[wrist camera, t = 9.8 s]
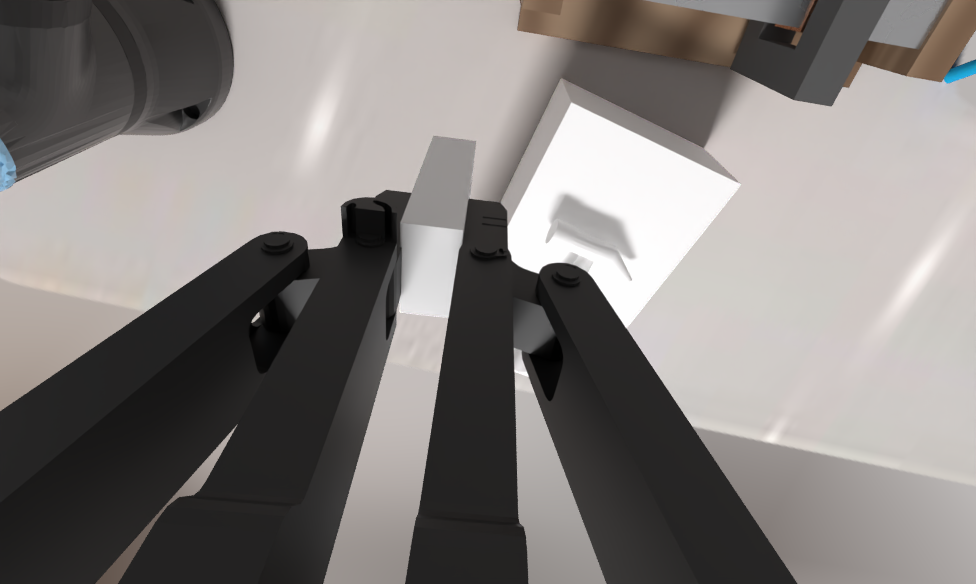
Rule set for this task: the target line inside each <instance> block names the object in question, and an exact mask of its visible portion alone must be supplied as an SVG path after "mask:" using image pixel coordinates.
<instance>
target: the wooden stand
mask: <svg viewBox="0 0 976 584" xmlns="http://www.w3.org/2000/svg"><path fill="white" fill-rule="evenodd" d="M520 3H521V10H520V16H519V22H518V28H517V30H518V31H524V32H529V33H535V34H541V35H547V36H553V37H558V38H564V39H570V40H576V41H581V42H587V43H593V44H599V45H605V46H610V47H616V48H622V49H628V50H633V51H639V52H645V53H651V54H657V55H662V56H668V57H674V58H680V59H685V60H691V61H697V62H703V63H709V64H714V65H720V66H726V67H731V65H732V63H733V60H734V58H735V55H736V53H737V50H738V48H739V46H740V43H741V41H742V38H743V36H744V33H745V31H746V28H747V26H748V24H749V21H750V19H746V18H740V17H735V16H729V15H723V14H718V13H712V12H707V11H701V10H696V9H690V8H684V7H679V6H673V5H668V4H662V3H656V2H651V1H645V0H520ZM975 31H976V0H949V1H948V2H947V4H946V6H945V7H944V9H943V11H942V12H941V14H940V15H939V17H938V19H937V20H936V22H935V24H934V25H933V27H932V29H931V30H930V32H929V33H928V35H927V37H926V38H925V40H924V42H923V43H922V45H921V46H920V48H919V49H913V48H908V47H902V46H897V45H891V44H886V43H880V42H874V41H869V40H868V41H867V43H866V45H865V47H864V49H863V50H862V52H861V54H860V56H859V58H858V59H857V61H856V63H855V65H854V67H853V69H852V70H851V72H850V74H849V76H848V78H847V79H846V81H845V83H844V85H843V87H847V88H849V86H850V84H851V83H852V81H853V79H854V77H855V75H856V74H857V72H858V70H859V68H860V66H861V65H862V63H863V64H867V65H870V66H874V67H877V68H880V69H884V70H887V71H891V72H894V73H898V74H901V75H905V76H909V77H915V78H921V79H926V80H932V81H938V82H942V80H943V79H944V77H945V76H946V74H947V73H948V71H949V70H950V68H951V67H952V65H953V64H954V62H955V61H956V59H957V58H958V56H959V55H960V53H961V52H962V50H963V49H964V47H965V46H966V44H967V43H968V41H969V40H970V38H971V37H972V35H973V33H974V32H975ZM801 35H802V33H801V32H796V34H795V36H794V38H793V40H792V42H791V44H792V45H796V46H797V44H798V42H799V40H800V38H801Z"/></svg>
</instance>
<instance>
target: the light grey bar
mask: <svg viewBox="0 0 976 584" xmlns="http://www.w3.org/2000/svg"><path fill="white" fill-rule="evenodd" d="M645 1H651V2H656V3H662V4H668V5H673V6H679V7H684V8H690V9H696V10H701V11H707V12H712V13H718V14H723V15H729V16H735V17H740V18H746V19H751V20H757V21H763V22H768V23H774V24H775V26H777V27H781V28H785V29H789V30H793V31H797V32H801V33H803V31H804V29H805V27H806V25H807V23H808V21H809V19H810V16H811V14H812V12H813V10H814V8H815V6H816V4H817V2H818V0H645ZM948 1H949V0H890V1H889V3H888V5H887V7H886V9H885V10H884V12H883V14H882V16H881V18H880V19H879V21H878V23H877V25H876V27H875V29H874V30H873V32H872V34H871V36H870V38H869V39H868V40H869V41H874V42H880V43H886V44H891V45H897V46H902V47H908V48H913V49H919V48H920V46H921V45H922V43H923V42H924V40H925V38H926V37H927V35H928V33H929V32H930V30H931V29H932V27H933V25H934V24H935V22H936V20H937V19H938V17H939V15H940V14H941V12H942V11H943V9H944V7H945V6H946V4H947V2H948Z"/></svg>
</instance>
